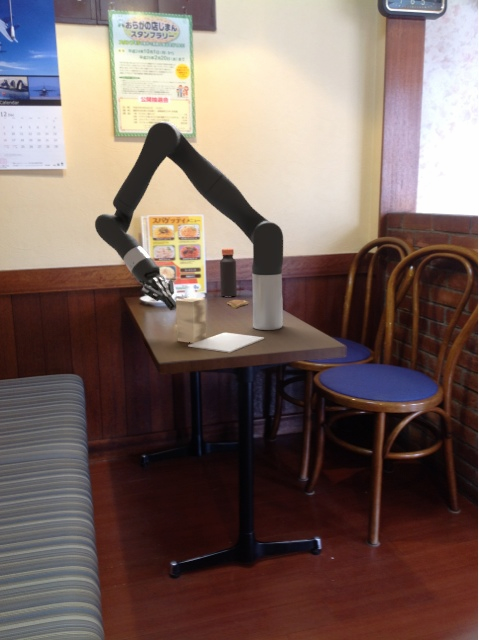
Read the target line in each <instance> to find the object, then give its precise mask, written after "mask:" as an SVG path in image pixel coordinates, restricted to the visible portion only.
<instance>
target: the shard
mask: <svg viewBox="0 0 479 640" xmlns="http://www.w3.org/2000/svg"><path fill="white" fill-rule="evenodd" d="M249 303H250V302H249V301H247V300H242V299H233V300H229V301H228V302H226V304H227V305H228V304H229V305H228V306H231V307H232V308H234V309H238V308H240V307H243V306H246V305H248V304H249Z"/></svg>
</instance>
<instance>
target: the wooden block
mask: <svg viewBox="0 0 479 640" xmlns="http://www.w3.org/2000/svg"><path fill="white" fill-rule="evenodd" d="M175 302H176V309H175V311H176V332H177V333H176V334H177V335H176V336H177V341H178V342H184V343H189V342H190V344H193V343H196V342H198V341H201V340H204V339H207V316H206V315H207V314H206V298H201V297H190V296H188V297H185V298H180V299H176V300H175Z"/></svg>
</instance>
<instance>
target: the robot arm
mask: <svg viewBox="0 0 479 640" xmlns="http://www.w3.org/2000/svg"><path fill="white" fill-rule="evenodd" d="M166 158H168V159H169V160H170V161H172V162H173V163H174V164H175V165H177V167H178V168H179V169H180V170H182V172H183V173H184V175H186V178H188V180H189V181H190V183H191V184H192V185H193V187H194V189H196V191H197V192H198V193H199V195H201V197H203V198H204V199H205V200H206V201H207V202H208V203H209V204H210V205H211V206H212V207H213V208H215V209H216V210H217V211H218V212H220V213H221V214H222V215H223V216H225V217H226V218H227V219H229V220H230V221H232V222H233V224H235V225H236V226H237V227H238V228H239V229H240V231H241V232H242V233H243V234H244V235H245V236H246V238H247V239H249V241H250V242H251V244H252V249H253V251H252V252H253V253H252V255H253V256H252V257H253V259H252V265H251V267H252V268H251V272H252V276H251V277H252V279H251V280H252V328H254V329H256V330H259V331H260V330H262V331H271V330H273V331H274V330H279V329H281V328H283V324H284V319H283V317H284V316H283V315H284V314H283V313H284V311H283V307H284V306H283V301H284V300H283V298H284V296H283V287H282V286H283V284H282V283H283V281H282V280H283V277H282V275H283V264H284V234H283V230H282V229H281V227H280V226H279V225H278V224H276V223H275V222H273V221H272V222H271V221H269V220H268V219H267V218H265V217H264V216H263V215H262V214H261V213H259V212H258V211H257V210H256V209H254V207H252V205H251V204H250V203H249V202H248V200H247V199H246V197H245V196H244V195H243V194H242V192H241V191H240V189H239V188H238V187H237V185H235V183H233V181H232V180H231V179H230V178H229V177H227V176H226V174H225V173H223V172H222V171H221V170H220V168H218V167H217V166H216V165H214V164H213V163H212V162H211V161H210V160H209V159H207V157H205V156H203V155H202V154H201V153H200V152H199V151H198V150H197V149H196V148H195V147H194V146H193V145H192V144H191V143H190V141H189V140H188V139H187V138H186V137H185V135H184V134H183V132H181V130H180V129H179V128H178V127H177V125H175V124H174V123H173V122H169V121H158V122H156V123H153V125H151V126H150V127H149V129H148V131H147V134H146V137H145V140H144V142H143V145H142V148H141V150H140V153H139V155H138V157H137V159H136V161H135V163H134V165H133V167H132V168H131V170H130V172H129V173H128V175H127V176H126V177H125V179H124V181H123V183H122V185H121V186H120V188H119V190H118V191H117V193H116V195H115V196H114V198H113V200H112V205H113V207H114V209H116V210H115V213H114V214H110V213H109V214H108V213H102V214H99V216H97V217H96V219H95V221H94V228H95V231H96V234H97V235H98V236H99V237H100V238H101V239H102V240H103V241H104V242H105V243H106V244H108V246H109V247H111V248H112V249H114V251H115V252H116V253H117V254H118V256H119V257H120V258H121V260H122V261H123V263H124V264H125V265H126V268H127V269H128V271H130V273H131V274H132V276H133V277H134V278H135V279H136V281H137V282H138V283H139V284H140V285H142V286H143V287H142V288H141V289H140V292H141V293H142V294H144V295H146V296H148V297H149V298H151V299H153V300H154V301H156V302H159V301H161V302H162V303H164V305H165V306H166V307H167V308H168V309H169V310H170V311H176V300H175V299H174V298H173V296H174V294H175V286H174V285H175V284H174V281H173V280H171V279H170V280H166V278H165V276H163V275H162V274H161V270H160V267H159V266H158V264H157V263H156V262H155V261H154V259H153V258H152V257H151V255H150V254H149V253H148V252H147V251H146V249H144V247H143V246H142V245H141V244H140V242H139V241H138V240H137V239H136V238H135V237H134V236H133V235H131V234H129V233H128V231H129V229H130V226H131V224H132V219H133V217H134V212H135V210H136V209H137V207H138V206H139V205H140V202H141V200H142V199H143V198H144V195H145V193H146V191H147V189H148V188H149V185H150V182H151V181H152V179H153V176H154V175H155V173H156V171H157V170H158V168H159V167H160V165H161V164H162V163H163V162H164V160H165V159H166Z"/></svg>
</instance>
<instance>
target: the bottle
mask: <svg viewBox="0 0 479 640" xmlns="http://www.w3.org/2000/svg"><path fill="white" fill-rule="evenodd" d="M221 256H222V258H221V260H220V261H219V275H220V280H219V281H220V296H221V297H222V296H235V297H237V296H238V295H237V294H238V293H237V261H236V259H235V258H234V248H222V249H221Z"/></svg>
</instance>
